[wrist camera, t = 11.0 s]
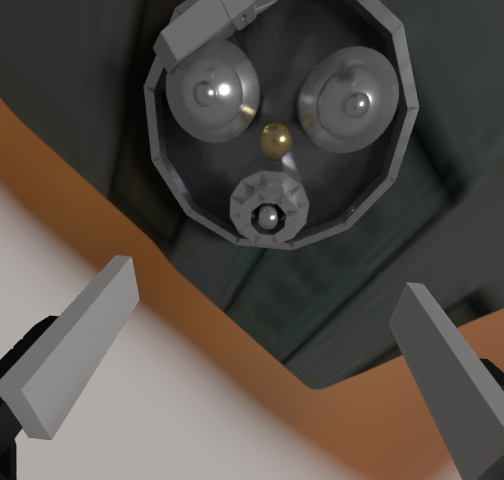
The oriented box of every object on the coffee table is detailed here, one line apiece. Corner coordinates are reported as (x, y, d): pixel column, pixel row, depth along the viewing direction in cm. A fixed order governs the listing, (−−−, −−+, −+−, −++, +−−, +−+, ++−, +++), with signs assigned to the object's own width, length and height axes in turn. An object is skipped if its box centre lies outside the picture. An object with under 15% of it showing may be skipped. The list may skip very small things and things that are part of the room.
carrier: (147, -33, 21) (83, -96, 14) (438, -15, 20) (525, -72, 13) (170, 225, 32) (140, 263, 24) (362, 242, 31) (387, 287, 24)
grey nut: (234, 222, 29) (225, 251, 24) (236, 157, 26) (227, 174, 21) (298, 228, 29) (303, 259, 24) (309, 163, 26) (318, 181, 20)
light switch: (181, 58, 23) (143, 44, 17) (311, -41, 20) (331, -110, 13) (193, 78, 24) (161, 73, 17) (320, -14, 21) (344, -67, 14)
